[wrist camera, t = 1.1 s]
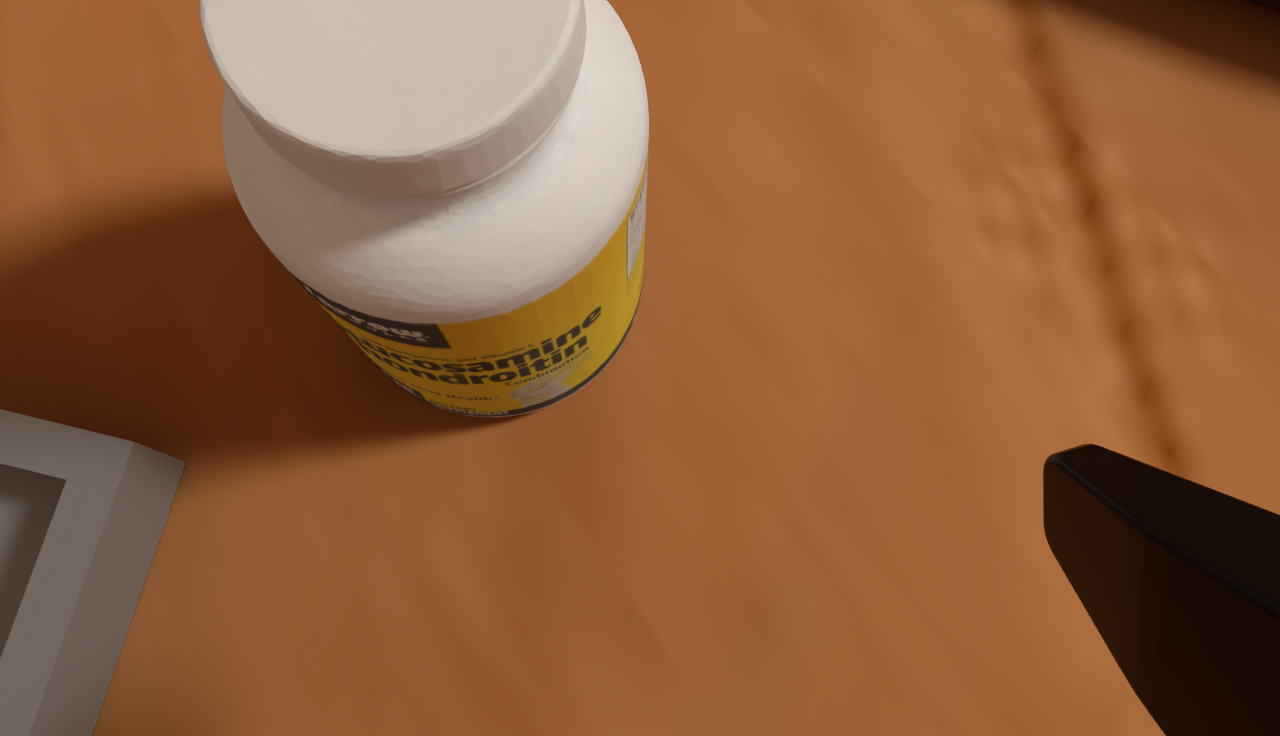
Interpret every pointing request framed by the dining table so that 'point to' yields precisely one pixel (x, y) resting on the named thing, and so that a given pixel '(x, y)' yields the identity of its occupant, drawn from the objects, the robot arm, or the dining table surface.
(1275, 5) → the diary
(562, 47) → the pill bottle
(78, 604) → the holder tray
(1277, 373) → the dining table surface
